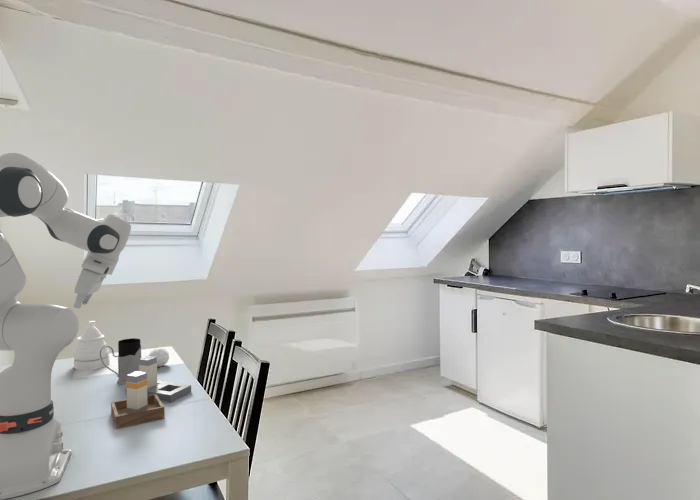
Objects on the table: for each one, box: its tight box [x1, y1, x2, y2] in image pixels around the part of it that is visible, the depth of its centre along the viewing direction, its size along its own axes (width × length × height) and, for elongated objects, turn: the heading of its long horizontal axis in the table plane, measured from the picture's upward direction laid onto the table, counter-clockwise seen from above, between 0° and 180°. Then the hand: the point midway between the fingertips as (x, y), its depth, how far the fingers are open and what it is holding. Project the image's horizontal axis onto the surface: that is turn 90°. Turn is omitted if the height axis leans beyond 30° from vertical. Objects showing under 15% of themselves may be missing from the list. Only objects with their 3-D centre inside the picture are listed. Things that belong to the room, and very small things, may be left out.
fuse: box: [139, 355, 158, 389], centre depth 157 cm, size 4×4×12 cm
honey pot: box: [73, 320, 111, 371], centre depth 187 cm, size 13×13×18 cm
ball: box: [148, 347, 170, 368], centre depth 186 cm, size 8×8×8 cm
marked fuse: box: [125, 371, 148, 413], centre depth 137 cm, size 4×4×12 cm
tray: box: [110, 394, 166, 430], centre depth 137 cm, size 13×13×4 cm
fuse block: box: [125, 379, 192, 403], centre depth 155 cm, size 19×10×2 cm, turn 70°
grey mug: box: [100, 337, 142, 385], centre depth 168 cm, size 9×14×15 cm, turn 112°
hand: (80, 305), depth 141 cm, fingers open, 8 cm apart
